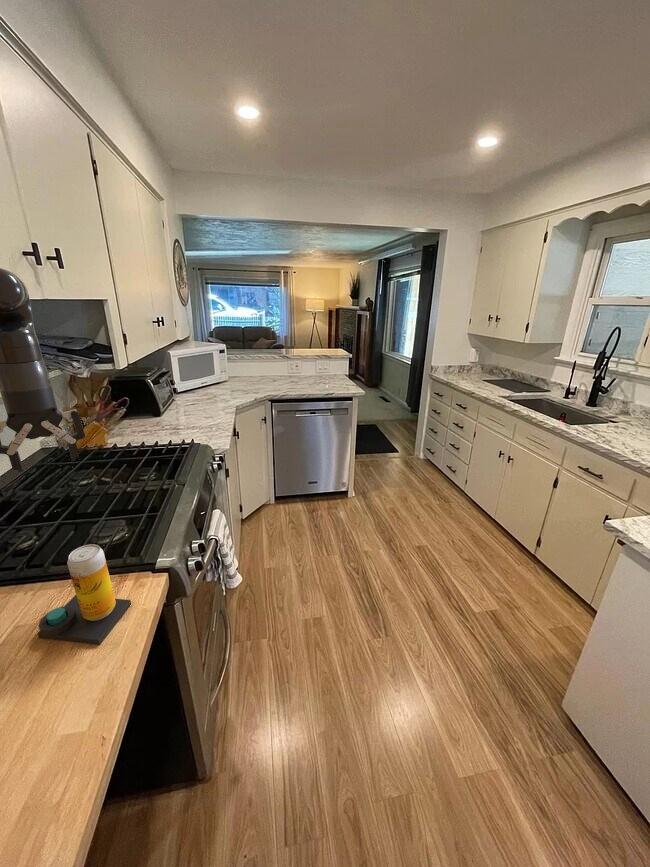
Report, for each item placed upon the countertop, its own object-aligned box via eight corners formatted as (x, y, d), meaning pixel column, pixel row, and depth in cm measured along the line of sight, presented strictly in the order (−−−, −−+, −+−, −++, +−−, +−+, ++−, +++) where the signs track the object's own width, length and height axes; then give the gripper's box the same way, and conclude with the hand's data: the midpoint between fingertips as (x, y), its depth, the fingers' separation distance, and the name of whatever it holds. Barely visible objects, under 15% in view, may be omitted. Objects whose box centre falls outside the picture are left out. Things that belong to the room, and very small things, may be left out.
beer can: (75, 619, 73) (57, 560, 68) (99, 597, 79) (85, 540, 74) (100, 625, 72) (83, 565, 67) (123, 602, 77) (109, 545, 72)
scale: (35, 640, 70) (30, 628, 69) (75, 599, 80) (72, 588, 79) (98, 647, 69) (95, 635, 68) (131, 604, 79) (129, 594, 78)
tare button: (44, 624, 71) (42, 618, 70) (56, 612, 73) (55, 606, 73) (58, 626, 70) (56, 620, 70) (70, 613, 73) (68, 608, 73)
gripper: (70, 377, 73) (87, 450, 78) (-25, 386, 64) (2, 467, 70) (74, 384, 67) (92, 462, 73) (-29, 394, 59) (0, 482, 64)
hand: (48, 464), depth 71 cm, fingers open, 8 cm apart
